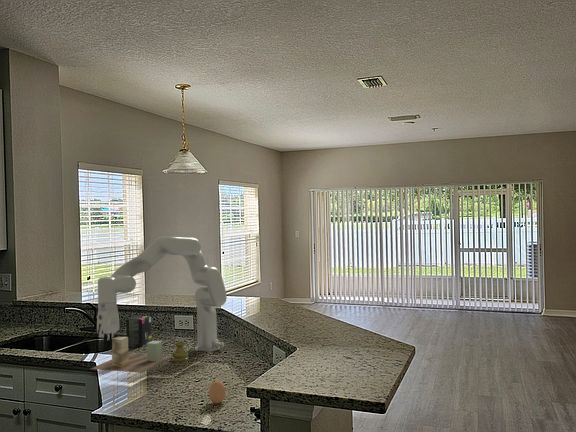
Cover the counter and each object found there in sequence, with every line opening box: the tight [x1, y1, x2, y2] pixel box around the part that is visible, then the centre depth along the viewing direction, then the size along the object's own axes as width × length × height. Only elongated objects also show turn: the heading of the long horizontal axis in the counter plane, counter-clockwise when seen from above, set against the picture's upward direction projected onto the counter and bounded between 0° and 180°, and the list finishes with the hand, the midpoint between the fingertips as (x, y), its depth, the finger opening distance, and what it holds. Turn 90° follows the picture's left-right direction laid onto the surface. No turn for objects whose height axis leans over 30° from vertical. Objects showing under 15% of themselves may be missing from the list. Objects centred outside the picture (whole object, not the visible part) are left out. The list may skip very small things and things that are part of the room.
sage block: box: [146, 340, 163, 361], centre depth 245 cm, size 5×5×8 cm
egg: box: [208, 380, 227, 404], centre depth 189 cm, size 6×6×8 cm
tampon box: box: [125, 315, 153, 348], centre depth 279 cm, size 11×9×15 cm
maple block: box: [111, 336, 129, 367], centre depth 236 cm, size 5×5×12 cm
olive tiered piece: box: [171, 340, 190, 363], centre depth 243 cm, size 7×8×10 cm
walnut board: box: [89, 352, 173, 374], centre depth 241 cm, size 26×28×1 cm
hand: (108, 349), depth 228 cm, fingers closed
